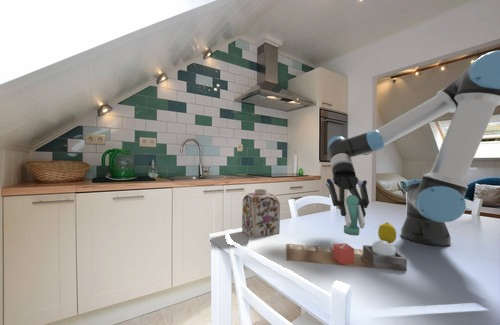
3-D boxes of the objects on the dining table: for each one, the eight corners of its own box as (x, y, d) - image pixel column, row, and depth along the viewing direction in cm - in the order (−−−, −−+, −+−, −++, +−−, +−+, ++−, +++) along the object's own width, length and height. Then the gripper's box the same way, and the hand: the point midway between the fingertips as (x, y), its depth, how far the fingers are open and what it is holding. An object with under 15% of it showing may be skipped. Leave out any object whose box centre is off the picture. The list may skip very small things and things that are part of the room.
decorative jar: (252, 240, 79) (253, 191, 79) (241, 231, 90) (241, 188, 90) (280, 236, 84) (281, 190, 84) (266, 228, 95) (267, 187, 95)
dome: (389, 254, 63) (389, 238, 63) (399, 262, 58) (399, 245, 58) (368, 252, 64) (369, 236, 64) (376, 260, 59) (377, 243, 59)
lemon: (399, 248, 75) (399, 225, 75) (381, 246, 76) (381, 223, 76) (391, 242, 80) (392, 221, 80) (375, 241, 81) (375, 219, 81)
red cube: (345, 256, 64) (346, 243, 64) (353, 263, 60) (354, 248, 60) (332, 257, 64) (333, 243, 64) (340, 263, 60) (340, 248, 60)
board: (384, 254, 69) (384, 241, 69) (407, 275, 56) (408, 259, 56) (285, 247, 74) (286, 234, 74) (286, 264, 61) (286, 249, 61)
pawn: (356, 231, 70) (357, 194, 70) (361, 236, 66) (362, 196, 66) (342, 230, 71) (343, 193, 71) (346, 234, 66) (347, 195, 66)
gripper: (362, 175, 82) (381, 233, 66) (318, 174, 85) (325, 229, 68) (368, 161, 77) (390, 220, 61) (321, 160, 79) (329, 216, 63)
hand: (355, 225), depth 64 cm, fingers closed on pawn, 3 cm apart
